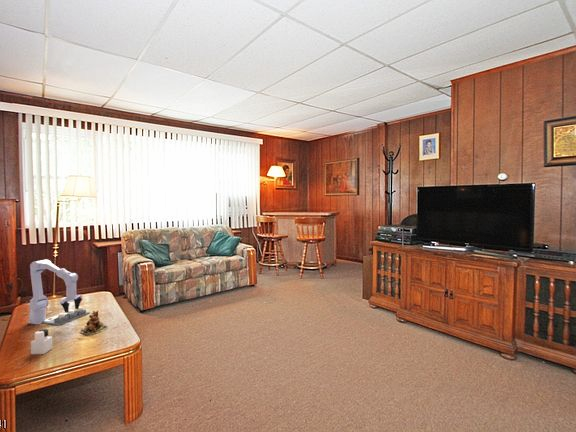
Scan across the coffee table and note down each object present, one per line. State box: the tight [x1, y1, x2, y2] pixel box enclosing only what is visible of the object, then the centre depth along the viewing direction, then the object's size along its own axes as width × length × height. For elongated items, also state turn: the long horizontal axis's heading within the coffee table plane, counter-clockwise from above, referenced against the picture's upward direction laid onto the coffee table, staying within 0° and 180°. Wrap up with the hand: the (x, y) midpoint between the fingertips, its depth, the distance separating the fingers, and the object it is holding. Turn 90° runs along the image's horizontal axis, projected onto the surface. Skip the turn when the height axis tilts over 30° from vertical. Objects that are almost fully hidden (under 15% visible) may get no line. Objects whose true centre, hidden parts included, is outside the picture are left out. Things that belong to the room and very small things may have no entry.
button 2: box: [75, 306, 84, 312], centre depth 232 cm, size 4×4×3 cm
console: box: [41, 309, 91, 326], centre depth 227 cm, size 18×24×3 cm
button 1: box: [57, 312, 65, 319], centre depth 218 cm, size 4×4×3 cm
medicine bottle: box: [30, 328, 53, 355], centre depth 176 cm, size 7×7×12 cm
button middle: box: [67, 309, 74, 315], centre depth 225 cm, size 4×4×3 cm
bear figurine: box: [79, 310, 109, 336], centre depth 205 cm, size 14×15×12 cm
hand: (71, 310), depth 214 cm, fingers open, 7 cm apart
